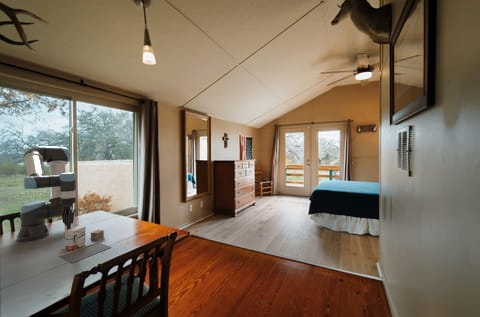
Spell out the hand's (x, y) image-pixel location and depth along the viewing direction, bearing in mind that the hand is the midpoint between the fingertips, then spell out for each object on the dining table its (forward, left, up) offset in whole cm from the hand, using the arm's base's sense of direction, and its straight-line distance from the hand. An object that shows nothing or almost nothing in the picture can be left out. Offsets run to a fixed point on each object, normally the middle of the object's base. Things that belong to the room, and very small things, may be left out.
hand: (67, 234), depth 125 cm
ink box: (+10, 0, -6) cm, 12 cm away
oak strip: (+15, 0, -6) cm, 16 cm away
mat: (+22, 0, -6) cm, 23 cm away
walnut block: (+8, +13, -6) cm, 16 cm away
